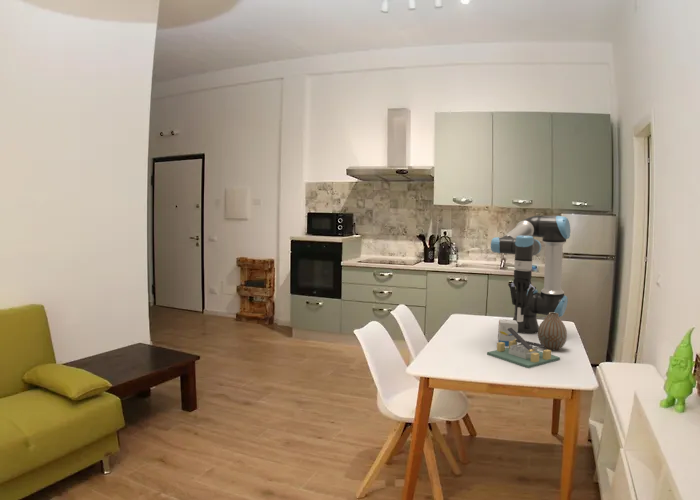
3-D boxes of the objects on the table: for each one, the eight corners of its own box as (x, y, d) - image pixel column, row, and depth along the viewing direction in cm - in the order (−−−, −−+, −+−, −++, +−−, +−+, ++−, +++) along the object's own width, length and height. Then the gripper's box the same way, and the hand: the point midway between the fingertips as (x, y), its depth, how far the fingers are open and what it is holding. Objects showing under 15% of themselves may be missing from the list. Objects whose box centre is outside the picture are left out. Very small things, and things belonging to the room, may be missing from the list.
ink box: (517, 347, 236) (518, 323, 235) (499, 345, 238) (500, 322, 237) (514, 342, 245) (516, 319, 244) (497, 341, 246) (498, 318, 245)
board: (518, 347, 235) (518, 337, 235) (559, 359, 217) (560, 349, 217) (487, 354, 222) (487, 344, 222) (528, 368, 204) (529, 356, 204)
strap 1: (511, 329, 222) (512, 327, 221) (534, 351, 212) (535, 349, 212) (506, 329, 220) (507, 328, 219) (529, 352, 210) (530, 350, 210)
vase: (537, 350, 232) (539, 314, 230) (536, 343, 244) (538, 309, 242) (567, 353, 227) (569, 317, 226) (565, 346, 239) (567, 311, 238)
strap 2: (517, 340, 229) (517, 338, 229) (544, 346, 217) (544, 344, 217) (513, 341, 227) (513, 339, 227) (540, 347, 215) (540, 345, 215)
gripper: (505, 268, 220) (502, 319, 222) (530, 272, 209) (527, 325, 211) (515, 267, 224) (512, 317, 226) (540, 271, 214) (537, 323, 216)
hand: (519, 321), depth 219 cm, fingers closed
